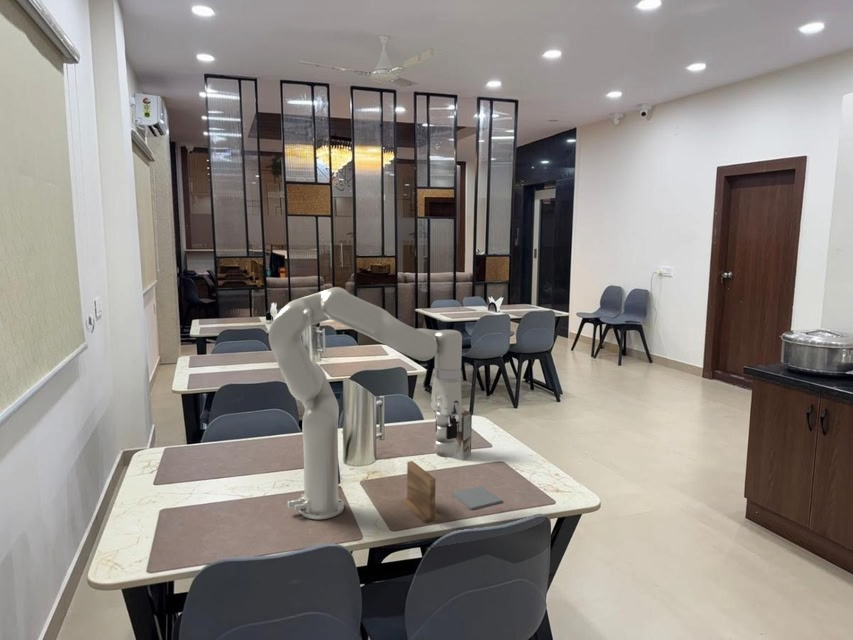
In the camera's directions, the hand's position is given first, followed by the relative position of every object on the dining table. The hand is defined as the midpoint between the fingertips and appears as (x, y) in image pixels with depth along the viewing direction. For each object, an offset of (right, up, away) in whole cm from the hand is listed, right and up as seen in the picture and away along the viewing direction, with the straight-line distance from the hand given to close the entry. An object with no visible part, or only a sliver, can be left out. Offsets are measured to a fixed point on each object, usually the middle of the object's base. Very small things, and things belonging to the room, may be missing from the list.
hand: (446, 434), depth 161 cm
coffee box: (+5, -16, +41) cm, 44 cm away
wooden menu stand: (-7, -21, -1) cm, 23 cm away
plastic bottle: (0, -7, +1) cm, 7 cm away
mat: (+9, -21, +7) cm, 24 cm away
